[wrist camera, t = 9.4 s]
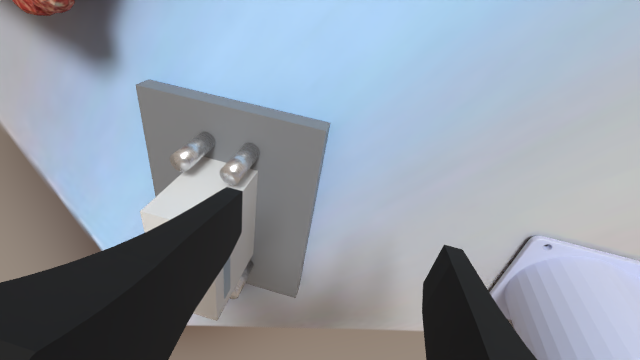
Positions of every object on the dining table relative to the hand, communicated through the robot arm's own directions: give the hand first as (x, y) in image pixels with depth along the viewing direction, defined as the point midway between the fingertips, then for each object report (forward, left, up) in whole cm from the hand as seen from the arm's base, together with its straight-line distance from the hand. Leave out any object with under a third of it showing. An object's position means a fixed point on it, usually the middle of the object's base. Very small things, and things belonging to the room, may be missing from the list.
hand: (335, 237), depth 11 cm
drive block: (+8, +8, -8) cm, 14 cm away
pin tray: (+8, +8, -9) cm, 15 cm away
